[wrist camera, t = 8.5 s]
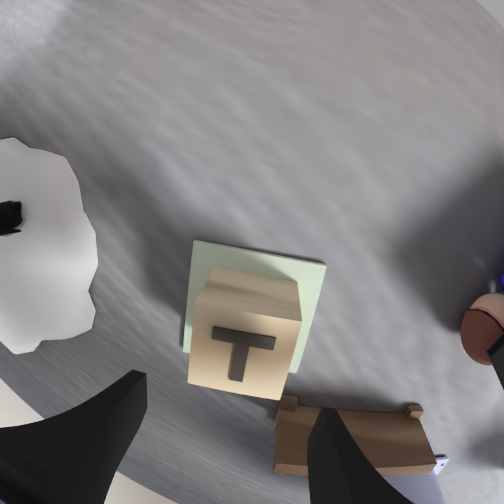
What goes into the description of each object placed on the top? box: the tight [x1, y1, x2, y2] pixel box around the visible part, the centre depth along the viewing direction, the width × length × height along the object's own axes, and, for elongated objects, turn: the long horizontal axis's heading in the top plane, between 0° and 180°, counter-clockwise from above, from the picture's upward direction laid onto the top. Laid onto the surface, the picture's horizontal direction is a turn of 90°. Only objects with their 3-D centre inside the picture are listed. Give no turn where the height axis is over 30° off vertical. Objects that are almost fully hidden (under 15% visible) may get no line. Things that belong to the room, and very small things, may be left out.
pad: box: [183, 240, 327, 373], centre depth 20 cm, size 8×8×1 cm
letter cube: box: [188, 267, 302, 400], centre depth 18 cm, size 5×5×5 cm
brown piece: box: [273, 395, 437, 477], centre depth 20 cm, size 3×12×6 cm, turn 80°
